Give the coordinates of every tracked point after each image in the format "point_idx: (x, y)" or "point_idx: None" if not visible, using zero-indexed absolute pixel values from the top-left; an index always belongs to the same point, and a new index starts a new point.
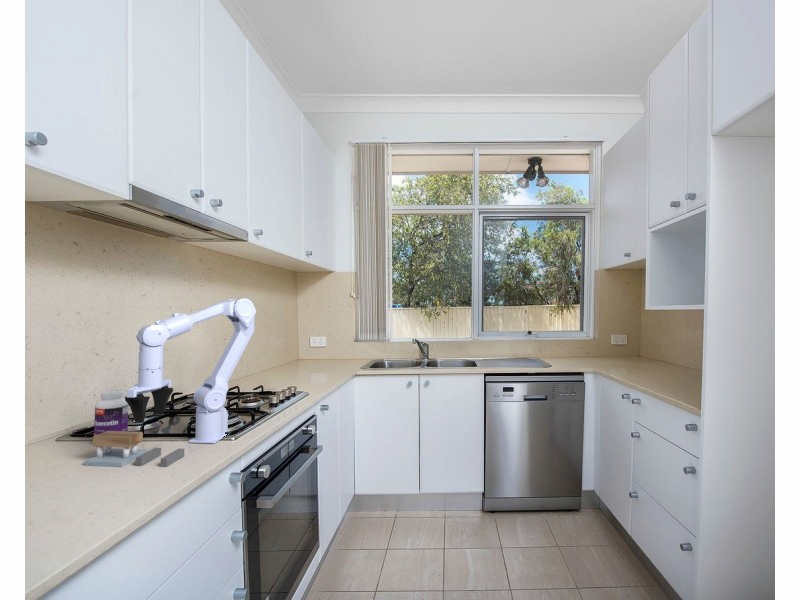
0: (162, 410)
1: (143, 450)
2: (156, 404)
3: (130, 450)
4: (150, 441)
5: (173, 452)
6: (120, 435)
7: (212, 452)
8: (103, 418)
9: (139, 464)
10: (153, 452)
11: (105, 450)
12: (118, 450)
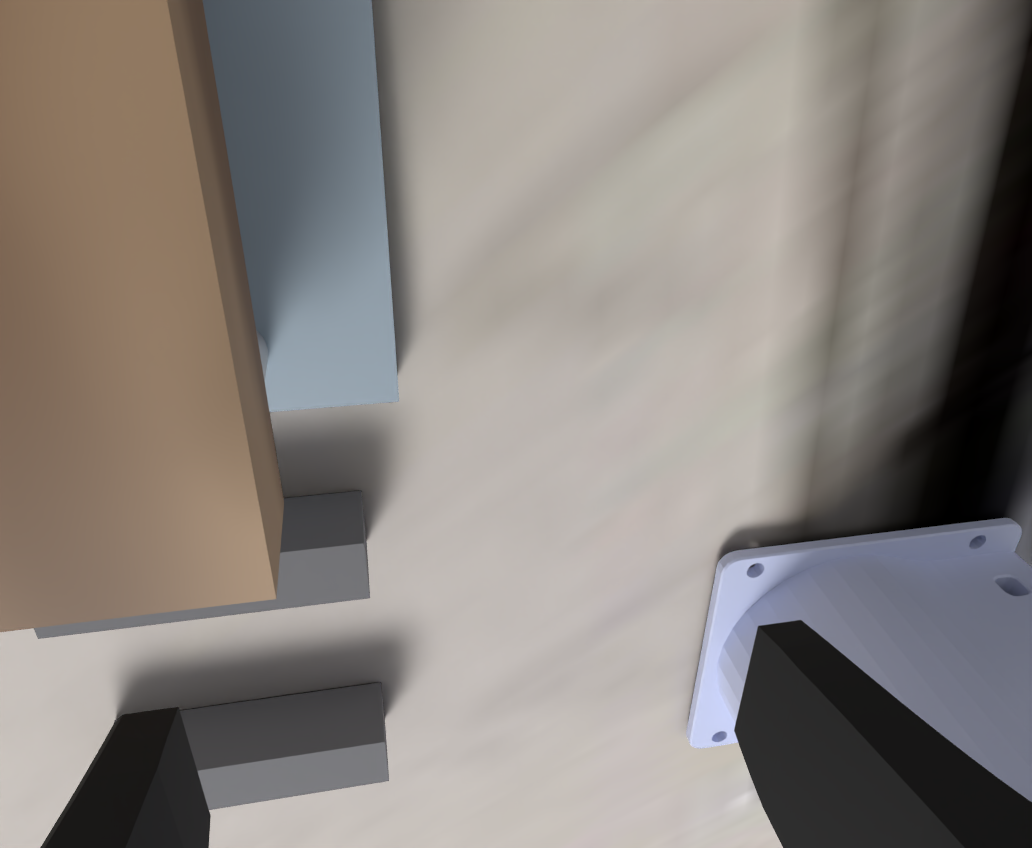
0: (775, 809)
1: (364, 374)
2: (896, 835)
3: (330, 209)
4: (819, 85)
5: (275, 771)
6: None
7: (497, 822)
8: None
9: None
10: (242, 607)
11: None
12: (290, 17)
